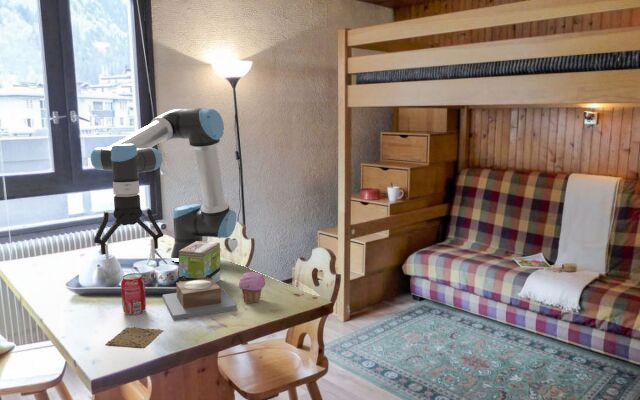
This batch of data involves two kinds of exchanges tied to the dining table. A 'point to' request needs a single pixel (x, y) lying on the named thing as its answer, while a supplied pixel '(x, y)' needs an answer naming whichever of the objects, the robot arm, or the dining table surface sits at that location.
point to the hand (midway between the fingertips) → (130, 261)
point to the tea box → (199, 261)
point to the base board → (180, 313)
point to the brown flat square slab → (134, 337)
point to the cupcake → (251, 286)
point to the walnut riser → (198, 293)
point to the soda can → (133, 294)
